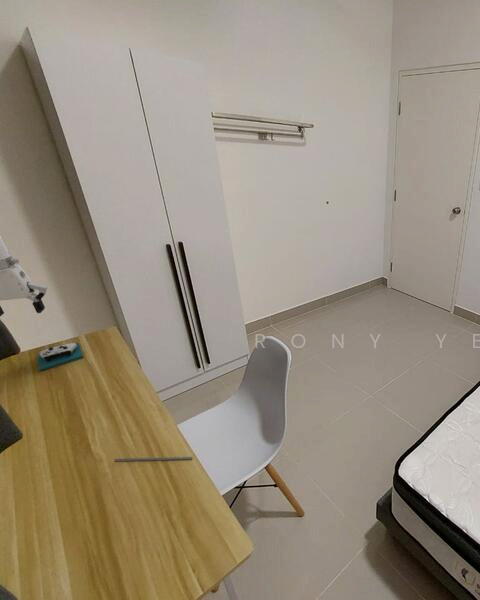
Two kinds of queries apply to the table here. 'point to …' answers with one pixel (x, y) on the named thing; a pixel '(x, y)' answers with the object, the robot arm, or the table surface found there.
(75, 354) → the pad
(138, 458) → the rod
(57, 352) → the game controller
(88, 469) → the table surface
